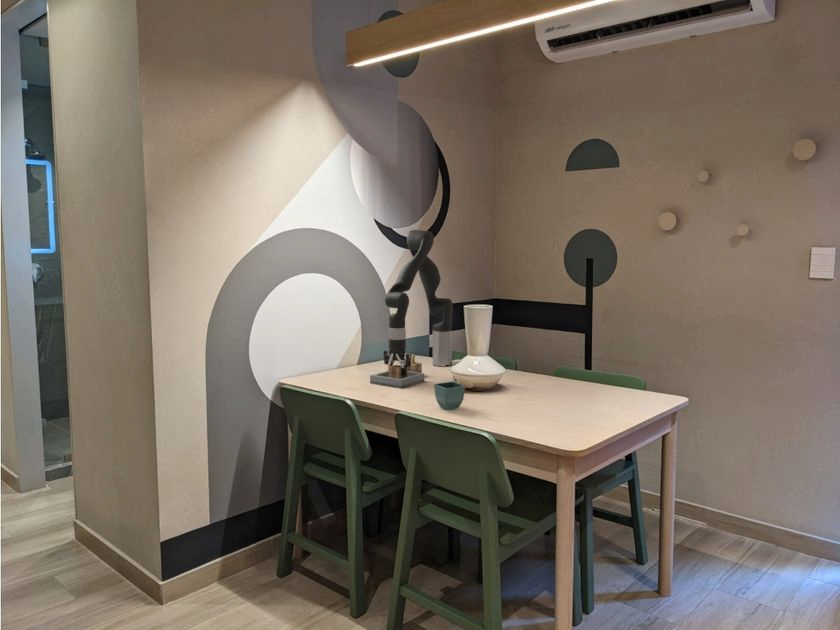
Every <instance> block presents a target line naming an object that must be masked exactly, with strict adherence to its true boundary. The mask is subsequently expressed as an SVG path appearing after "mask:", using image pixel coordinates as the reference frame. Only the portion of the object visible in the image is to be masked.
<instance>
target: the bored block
mask: <svg viewBox="0 0 840 630" xmlns="http://www.w3.org/2000/svg"><path fill="white" fill-rule="evenodd" d="M387 367H388V366H387ZM387 371H388V377H390V378H396V379H403V378H406V377H408V367H407V374H406V376H404V377H402V366H401V364H393V365H392V366H389V367H388V368H387Z"/></svg>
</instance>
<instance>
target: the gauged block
mask: <svg viewBox="0 0 840 630" xmlns="http://www.w3.org/2000/svg"><path fill="white" fill-rule="evenodd" d="M411 354H412V353H411ZM415 360H416V354H414V353H413V354H412V355H411V366H409V367H408V371H411V372H418V373H423V369H422V366H423V363H422V362H418V361H417V362H416V361H415Z"/></svg>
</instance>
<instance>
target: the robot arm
mask: <svg viewBox="0 0 840 630" xmlns="http://www.w3.org/2000/svg"><path fill="white" fill-rule="evenodd" d="M434 240H435V239H434V235H433V233H432V232H431V231H428V230H423V229H422V230H420V229H412V230H409V232H408V233H407V235H406V244H407V247H408V250H409V252H410V254H411V256H412V258H411V259H410V260H409V261H407V263H406V264H404V265H403V266H402V268H401V269H400V271H399V273H398V276H397V278H396V281H395V282H394V283H393V285H392V286H391V287H390V289H389V290H388V291H387V293H386V294H385V298H384V303H385V305H386V307H388V308H390V309H397V310H396V313H391V314H390V315H389V317H388V349H389V350H384V351H383V363H384V365H387V367H389V366H393V365H394V363H395V362H398V364H399V365H401V366H402V377H404V376H406V374H407V367H409V366H411V355H412V353H411V352H409V353H408V352H406V347H407V338H406V337H407V334H406V333H407V331H406V316H407V313H408V308H409V305H410V298H409V295H408V294H407V292H408V291H410V290H411V288H412V286H413V284H414V281H415V278H416V275H417V273H418V275H419V278H420V281H421V284H422V286H423V289H424V290H423V291H424V292H425V296H426V301H427V306H428V310H429V313H430V315H431V316H432V317H438V318H442V321H440V322H437V323H435V324H433V325H432V365H433V366H434V365H436V366H435V367H444V366H443V365H449V364H451V363H452V364H453V345H452V325H453V310H454V309H453V306H454V305H453V301H452V298H446V297H445V298H443V297H437V296H436V291H437V290H438V288H439V286H440V283H441V279H442V278H441V275H440V274H441V273H440V271H439V268H438V265H436V264H435V262H434V261H433V260H432V259H431V258H430V257H429V256H428V255H429V254H430V251H431V249H432V248H433V245H434V242H435V241H434ZM452 364H451V365H452Z"/></svg>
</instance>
